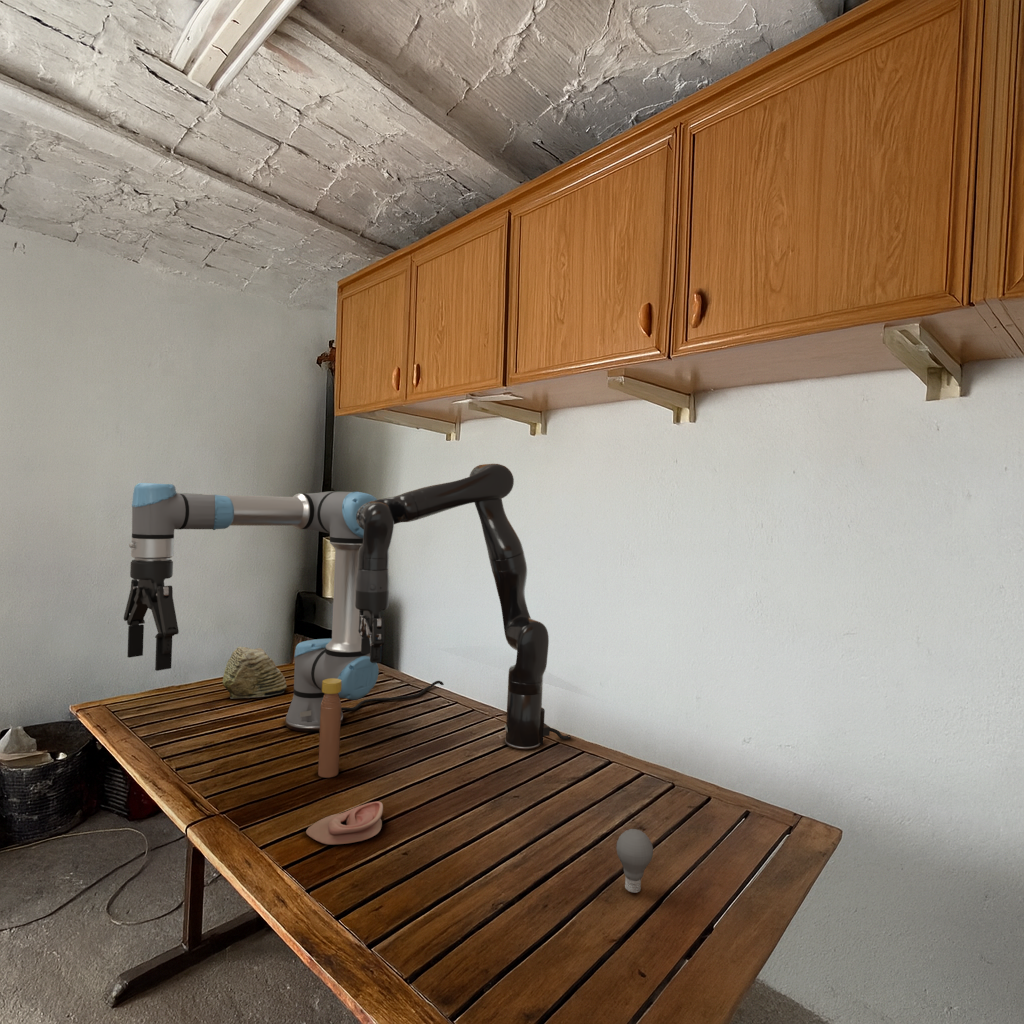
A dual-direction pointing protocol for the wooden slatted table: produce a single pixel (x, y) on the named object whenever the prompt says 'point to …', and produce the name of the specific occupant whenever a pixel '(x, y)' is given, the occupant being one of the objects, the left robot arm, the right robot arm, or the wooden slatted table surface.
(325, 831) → the anatomical model
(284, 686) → the fossil
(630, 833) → the light bulb
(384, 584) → the right robot arm
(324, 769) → the bottle
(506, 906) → the wooden slatted table surface
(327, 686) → the cap
